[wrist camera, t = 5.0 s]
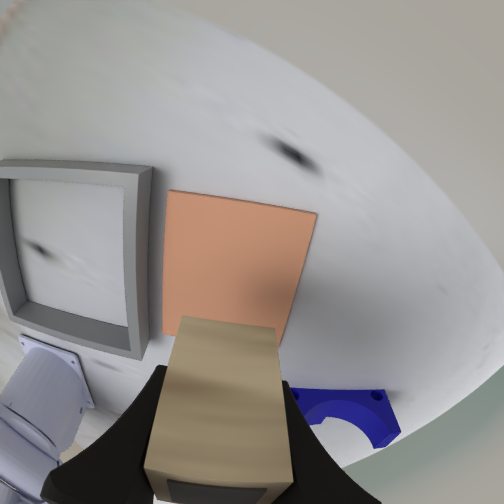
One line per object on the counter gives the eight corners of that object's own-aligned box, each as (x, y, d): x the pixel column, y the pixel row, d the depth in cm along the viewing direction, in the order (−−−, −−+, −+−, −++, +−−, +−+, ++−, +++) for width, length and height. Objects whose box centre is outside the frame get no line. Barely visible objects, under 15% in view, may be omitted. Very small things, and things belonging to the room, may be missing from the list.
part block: (257, 384, 14) (263, 512, 7) (180, 374, 14) (156, 501, 7) (275, 328, 12) (293, 484, 6) (182, 315, 12) (143, 470, 5)
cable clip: (264, 410, 26) (267, 460, 21) (276, 384, 25) (281, 439, 19) (364, 412, 28) (378, 453, 22) (383, 388, 26) (401, 432, 20)
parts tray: (149, 339, 22) (141, 360, 19) (23, 305, 21) (10, 320, 18) (152, 166, 16) (138, 174, 14) (2, 160, 15) (-19, 166, 13)
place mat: (277, 346, 22) (277, 349, 22) (163, 330, 21) (162, 333, 21) (315, 213, 18) (316, 215, 17) (169, 189, 17) (167, 191, 16)
